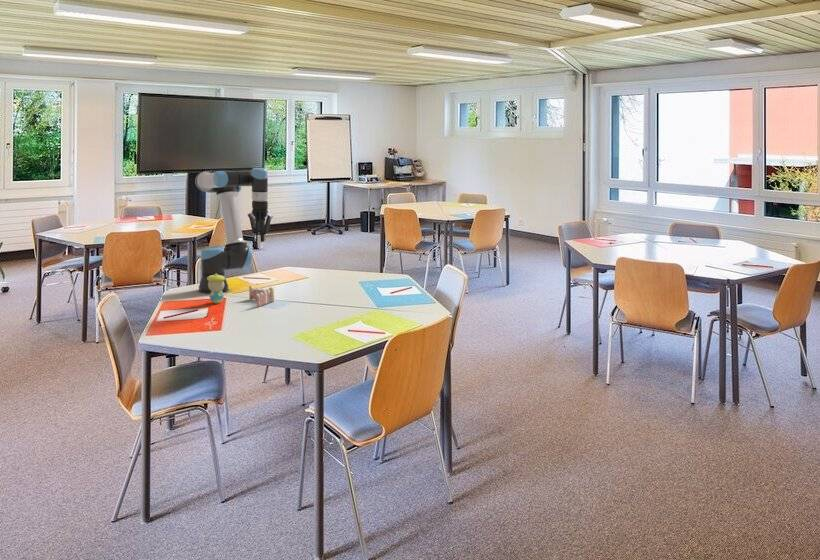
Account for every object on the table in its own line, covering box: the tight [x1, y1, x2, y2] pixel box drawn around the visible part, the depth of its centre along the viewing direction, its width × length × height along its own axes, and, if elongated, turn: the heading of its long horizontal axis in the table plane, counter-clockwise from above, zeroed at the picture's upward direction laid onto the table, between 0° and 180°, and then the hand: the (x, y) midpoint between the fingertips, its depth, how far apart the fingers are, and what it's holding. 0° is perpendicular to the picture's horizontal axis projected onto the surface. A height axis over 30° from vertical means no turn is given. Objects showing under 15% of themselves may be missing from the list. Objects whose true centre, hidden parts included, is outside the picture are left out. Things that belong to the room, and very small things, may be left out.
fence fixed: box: [248, 285, 275, 303], centre depth 332 cm, size 14×2×8 cm, turn 70°
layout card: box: [242, 299, 293, 310], centre depth 327 cm, size 20×14×1 cm
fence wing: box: [256, 290, 271, 307], centre depth 324 cm, size 10×1×6 cm, turn 158°
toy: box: [207, 274, 226, 305], centre depth 325 cm, size 8×9×15 cm
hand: (260, 247), depth 330 cm, fingers closed
